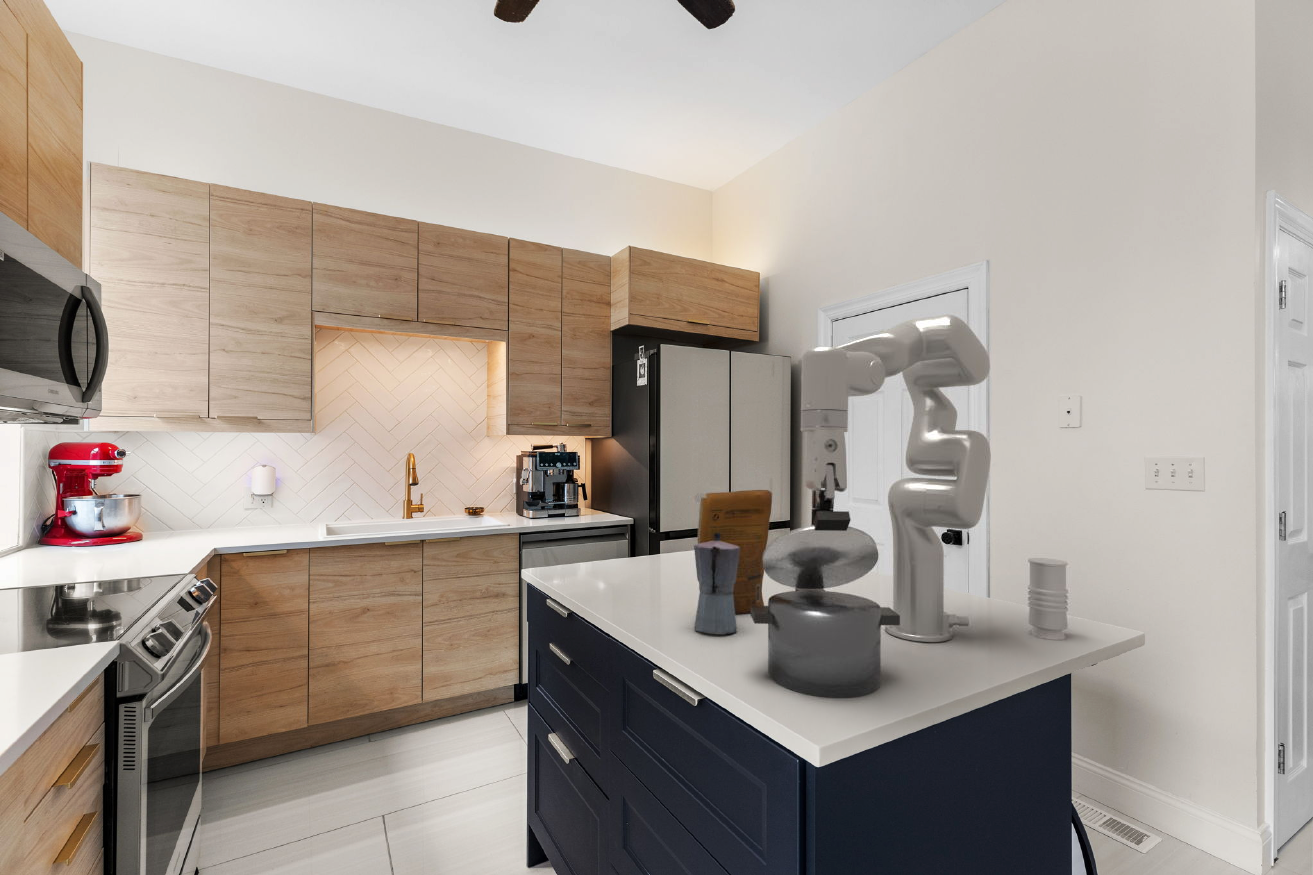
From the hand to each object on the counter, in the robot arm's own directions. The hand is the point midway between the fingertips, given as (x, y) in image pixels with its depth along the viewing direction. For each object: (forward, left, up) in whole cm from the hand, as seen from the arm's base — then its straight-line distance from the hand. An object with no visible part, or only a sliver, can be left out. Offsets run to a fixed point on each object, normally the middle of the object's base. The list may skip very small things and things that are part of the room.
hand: (822, 533), depth 102 cm
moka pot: (+16, -25, -24) cm, 38 cm away
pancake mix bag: (+11, -39, -24) cm, 47 cm away
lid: (0, -2, -4) cm, 5 cm away
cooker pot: (0, -1, -24) cm, 24 cm away
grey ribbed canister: (-51, -25, -24) cm, 62 cm away
